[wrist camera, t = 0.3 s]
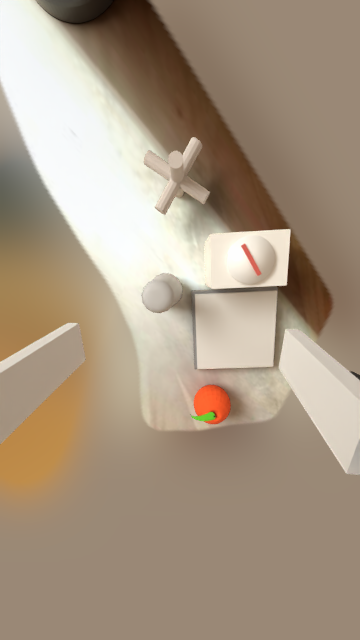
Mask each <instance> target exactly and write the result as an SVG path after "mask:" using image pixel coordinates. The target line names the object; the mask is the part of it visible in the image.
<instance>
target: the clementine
mask: <svg viewBox="0 0 360 640" xmlns="http://www.w3.org/2000/svg"><path fill="white" fill-rule="evenodd" d="M230 406H231V405H230V399H229V397H228V395H227V393H226V392H225V391H224V390H223V389H222V388H220V387H218V386H216V385H207V386H204V387H202V388H201V389H200V390H199V391H198V392H197V393H196V395H195V398H194V408H195V412H196V414H197V415H198V416H196V417H194V416H192V418H194V419H196V420H199V421H204V422H206V423H209V424H218V423H220V422H222V421H223V420H225V419H226V418H227V416H228V414H229V412H230Z"/></svg>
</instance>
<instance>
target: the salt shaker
mask: <svg viewBox="0 0 360 640" xmlns="http://www.w3.org/2000/svg"><path fill="white" fill-rule="evenodd" d="M181 295H182V284H181V283H180V281H179V279H178V278H177V277H175V276H174V275H172V274H167V273H162V274H160V275H157V276H156V277H155V278H154V279H153V280H152V281H150V282H148V284H147V285H146V286H145V287H144V289H143V292H142V295H141V296H142V301H143V304H144V305H145V307H146V308H147V309H148V310H150V311H152V312H155V313H162V312H165V311H168V310H169V309H170V308H171V307H172V306H173V305H175V304H176V303H177V302H178V301H179V300H180V299H181Z"/></svg>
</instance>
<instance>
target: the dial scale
mask: <svg viewBox="0 0 360 640" xmlns="http://www.w3.org/2000/svg"><path fill="white" fill-rule="evenodd" d="M289 244H290V229H285V230H268V231H251V232H234V233H217V234H210V236H209V237H208V239H207V240H206V242H205V243H204V260H205V285H206V286H208V287H209V288H211V289H216V290H195V291H192V316H193V342H194V367H195V369H218V368H250V367H274V349H275V332H276V314H277V297H278V287H265V286H286V285H287V274H288V259H289ZM244 287H258V288H244ZM223 288H237V289H223Z"/></svg>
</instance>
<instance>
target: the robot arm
mask: <svg viewBox="0 0 360 640" xmlns="http://www.w3.org/2000/svg"><path fill="white" fill-rule="evenodd" d="M36 1H37V2H38V4H39V5H40V6H41V7H42V8H43V9H44V10H45V11H47V12H48V13H49V14H51V15H52V16H54V17H56V18H58V19H60V20H63V21H66V22H71V23H81V22H86V21H89V20H92V19H94V18H96V17H97V16H99V15H100V14H102V13H103V12H104V11H105V10H106V9H107V8H108V7H109V6H110V5H111V3H112V2H113V0H36ZM84 361H85V354H84V348H83V343H82V338H81V332H80V327H79V323H67V324H65V325H64V326H62V327H60V328H58V329H57V330H55V331H53V332H51V333H50V334H48V335H46V336H45V337H43V338H41V339H39V340H38V341H36V342H34V343H32V344H31V345H29V346H27V347H26V348H24V349H22V350H20V351H19V352H17V353H15V354H13V355H12V356H10V357H8V358H7V359H5V360H3V361H1V362H0V444H1V443H2V442H3V441H4V440H5V439H6V438H7V437H8V436H9V435H10V434H11V433H12V432H13V431H14V430H15V429H16V428H17V427H18V426H19V425H20V424H21V423H22V422H23V421H24V420H25V419H26V418H27V417H28V416H29V415H30V414H31V413H32V412H33V411H34V410H35V409H36V408H37V407H38V406H39V405H40V404H41V403H42V402H43V401H44V400H45V399H47V398H48V397H49V395H51V393H52V392H54V391H55V390H56V389H57V387H59V385H61V384H62V383H63V382H64V381H65V380H66V379H67V378H68V377H69V376H70V375H71V374H72V373H73V372H74V371H75V370H76V369H77V368H78V367H79V366H80V365H81V364H82V363H83V362H84ZM279 370H280V371H281V373H282V374H283V376H284V377H285V379H286V380H287V382H288V384H289V385H290V387H291V388H292V390H293V391H294V393H295V394H296V396H297V398H298V399H299V401H300V402H301V404H302V405H303V407H304V408H305V410H306V412H307V413H308V415H309V416H310V418H311V419H312V421H313V422H314V424H315V426H316V427H317V429H318V430H319V432H320V433H321V435H322V436H323V438H324V440H325V441H326V443H327V444H328V446H329V447H330V449H331V451H332V452H333V454H334V455H335V457H336V458H337V460H338V461H339V463H340V464H341V466H342V468H343V469H344V471H345V472H346V474H358V475H360V375H358V374H356V373H354V372H349V371H348V370H347V369H345V368H344V367H343V366H342V365H341V364H340V363H338V362H337V361H336V360H335V359H334V358H333V357H331V356H330V355H329V354H328V353H327V352H325V351H324V350H323V349H322V348H321V347H319V346H318V345H317V344H316V343H315V342H314V341H312V340H311V339H310V338H309V337H308V336H306V335H305V334H304V333H303V332H302V331H300V330H299V329H285V335H284V340H283V346H282V352H281V357H280V363H279Z"/></svg>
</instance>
